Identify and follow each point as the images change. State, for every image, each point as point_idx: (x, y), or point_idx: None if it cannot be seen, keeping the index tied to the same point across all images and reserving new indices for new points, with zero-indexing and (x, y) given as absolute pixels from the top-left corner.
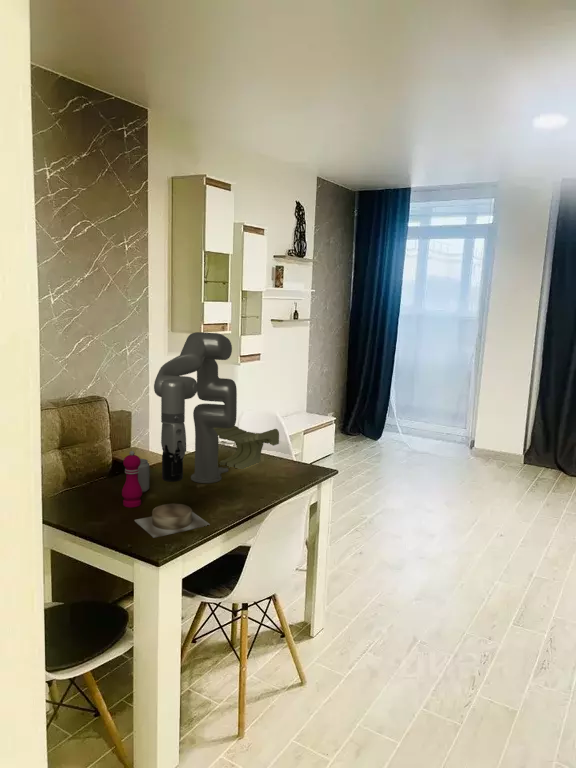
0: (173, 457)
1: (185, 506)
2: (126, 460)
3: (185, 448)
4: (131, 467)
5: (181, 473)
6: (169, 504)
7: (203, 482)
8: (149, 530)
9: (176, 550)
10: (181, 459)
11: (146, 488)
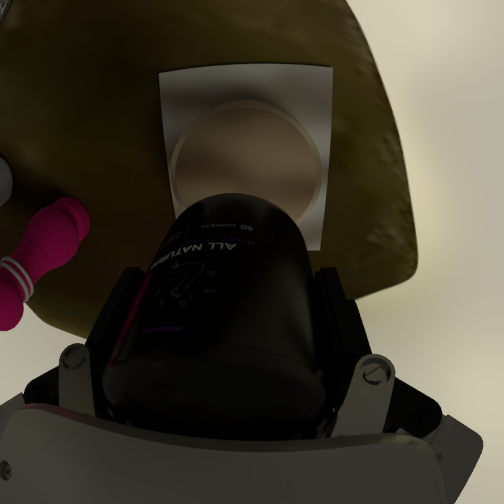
0: (328, 435)
1: (231, 117)
2: (10, 329)
3: (440, 485)
4: (22, 304)
5: (303, 249)
6: (181, 165)
7: (5, 11)
8: None
9: (410, 233)
10: (409, 395)
11: (4, 167)
